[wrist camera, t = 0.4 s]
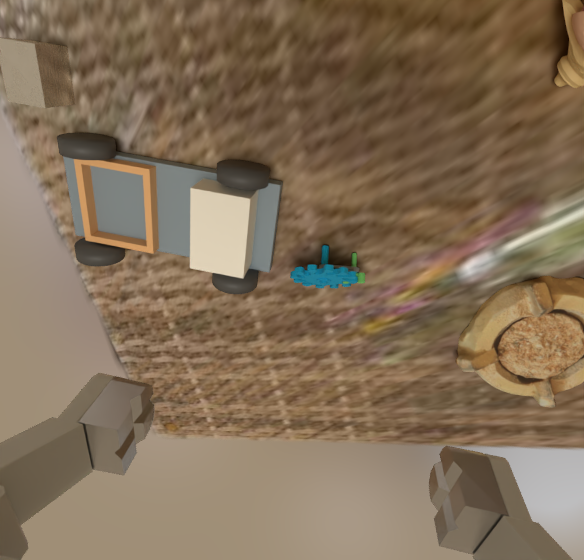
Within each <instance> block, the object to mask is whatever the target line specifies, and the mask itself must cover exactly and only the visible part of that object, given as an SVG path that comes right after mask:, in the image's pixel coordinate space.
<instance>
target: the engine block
mask: <svg viewBox="0 0 584 560" xmlns="http://www.w3.org/2000/svg"><path fill="white" fill-rule="evenodd" d="M0 64H1V69H2V74H3V78H4V83H5V88H6V92H7V97H8V102H14V103H20V104H25V105H31V106H37V107H42V108H50V107H58V106H66V105H74V104H75V99H74V92H73V84H72V77H71V69H70V62H69V54H68V47H67V46H63V45H57V44H51V43H45V42H39V41H33V40H23V39H12V38H1V37H0Z"/></svg>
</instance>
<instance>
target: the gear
mask: <svg viewBox="0 0 584 560" xmlns="http://www.w3.org/2000/svg"><path fill="white" fill-rule="evenodd" d="M328 254H329V246H327V245H324V246H322V260H321V265H319V269H317V265H308V268H307V270H304V268H303V267H296V268H295V271H292V272H291V276H290V278H294V282H295V283H300V282H303V283H302V285H304V286H311V285H316V287H317V288H324V286H326V285H330V288H338V284H342V286H344V287H348V286H351V283H352V284H354V283H357V282H358V283H365V273H359V268H358V267H356V265H357V253H352V267H351V266H340V265H328Z"/></svg>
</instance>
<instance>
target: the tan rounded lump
mask: <svg viewBox="0 0 584 560" xmlns="http://www.w3.org/2000/svg"><path fill="white" fill-rule="evenodd" d="M562 1H563V9H564V16H565V22H566V27H567V31H568V35H569V47H568V55H566V56H563V57H561V59H560V61H559V62H558V63H557V68H558V71H559V73H558V75H557V76H556V77H555V79H554V81H555V84H556V85H557V86H560V87H562V86H565V85H570V86H572V87H574V88H578V87H581V86H584V5H583V4H582V2H581V1H580V0H562Z"/></svg>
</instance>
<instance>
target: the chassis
mask: <svg viewBox="0 0 584 560" xmlns="http://www.w3.org/2000/svg"><path fill="white" fill-rule="evenodd" d="M57 141H58V147H59V153H60V155H62V156H63V157H64V163H65V169H66V176H67V182H68V188H69V195H70V201H71V207H72V214H73V220H74V226H75V233H76V235H79V236H84V237H85V238H82V239H80V240H79V241H77V242H76V243H75V252H76V258H77V260H78V261H79V262H80V263H82V264H85V265H88V266H108V265H112V264H115V263H118V262H120V261H121V260H123V259H124V257H125V248H127V249H132V250H137V251H143V252H148V253H155V252H156V251H161V252H166V253H171V254H177V255H182V256H187V257H190V268H192V269H197V270H202V271H207V272H212V273H213V276H212V283H213V285H214V286H215V287H216V288H217V289H218V290H220V291H222V292H225V293H230V294H244V293H248V292H251V291H253V290H254V289H255V288H256V287H257V282H258V270H259V271H264V272H270V270H271V267H272V261H273V253H274V245H275V238H276V230H277V222H278V215H279V207H280V199H281V192H282V184H283V182H282V181H277V180H271V179H269V174H270V169H269V168H268V167H266V166H265V165H262V164H259V163H255V162H251V161H244V160H224V161H220V162H218V163H217V170H216V169H211V168H205V167H200V166H194V165H189V164H183V163H178V162H172V161H167V160H161V159H156V158H150V157H145V156H139V155H134V154H128V153H123V152H117V151H116V146H115V139H114V138H112V137H109V136H105V135H100V134H92V133H66V134H61V135H59V136H57Z"/></svg>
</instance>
